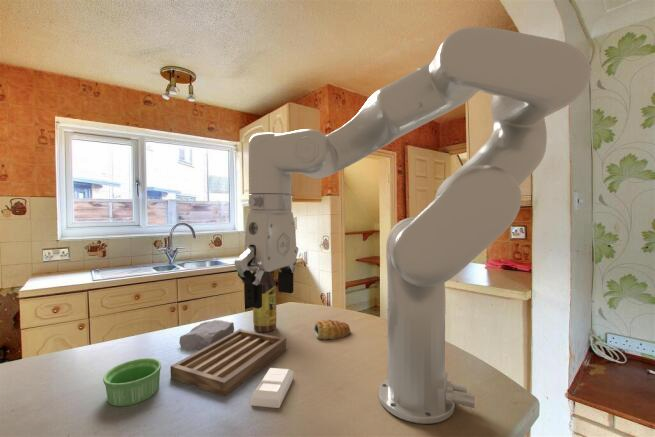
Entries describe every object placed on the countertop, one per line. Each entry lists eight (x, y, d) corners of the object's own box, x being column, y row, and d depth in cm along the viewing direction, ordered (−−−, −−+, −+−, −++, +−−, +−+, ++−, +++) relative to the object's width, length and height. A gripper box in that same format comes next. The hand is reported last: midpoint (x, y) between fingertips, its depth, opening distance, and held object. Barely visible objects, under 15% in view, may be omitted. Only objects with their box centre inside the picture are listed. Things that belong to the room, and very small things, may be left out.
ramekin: (126, 379, 62) (125, 357, 62) (171, 379, 62) (170, 357, 61) (91, 409, 53) (89, 383, 53) (143, 409, 53) (142, 384, 52)
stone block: (176, 357, 75) (213, 352, 73) (172, 337, 75) (209, 331, 73) (205, 338, 86) (238, 333, 84) (202, 320, 86) (234, 315, 84)
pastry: (345, 327, 87) (345, 314, 87) (353, 338, 80) (353, 323, 80) (312, 331, 84) (312, 317, 84) (318, 342, 78) (318, 327, 78)
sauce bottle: (274, 333, 83) (272, 259, 82) (250, 333, 83) (249, 259, 82) (278, 324, 89) (277, 255, 89) (256, 324, 90) (255, 255, 89)
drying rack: (286, 349, 74) (286, 338, 74) (224, 396, 56) (224, 382, 56) (239, 338, 80) (239, 329, 80) (170, 378, 62) (170, 366, 62)
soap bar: (293, 380, 61) (293, 367, 61) (279, 410, 53) (278, 394, 52) (269, 378, 62) (268, 365, 62) (251, 407, 53) (250, 392, 53)
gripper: (256, 205, 47) (256, 318, 47) (312, 204, 62) (311, 290, 63) (218, 204, 50) (219, 310, 51) (280, 204, 65) (280, 285, 66)
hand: (270, 299), depth 57 cm, fingers open, 9 cm apart
